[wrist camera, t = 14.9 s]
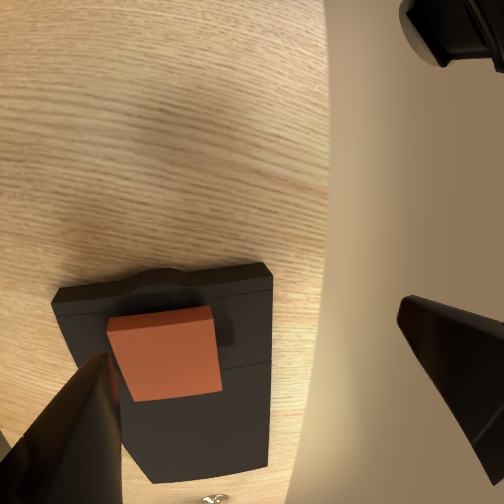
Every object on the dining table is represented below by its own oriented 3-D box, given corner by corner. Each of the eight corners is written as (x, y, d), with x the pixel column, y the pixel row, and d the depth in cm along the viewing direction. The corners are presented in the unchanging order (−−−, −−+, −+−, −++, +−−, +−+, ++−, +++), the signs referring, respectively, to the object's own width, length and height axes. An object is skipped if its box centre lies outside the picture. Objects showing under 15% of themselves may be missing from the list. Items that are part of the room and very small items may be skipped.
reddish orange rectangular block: (203, 284, 19) (213, 318, 15) (212, 352, 21) (222, 390, 18) (114, 295, 18) (106, 331, 14) (135, 362, 20) (134, 401, 16)
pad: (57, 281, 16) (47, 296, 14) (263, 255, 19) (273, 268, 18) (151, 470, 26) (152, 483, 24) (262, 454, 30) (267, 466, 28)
